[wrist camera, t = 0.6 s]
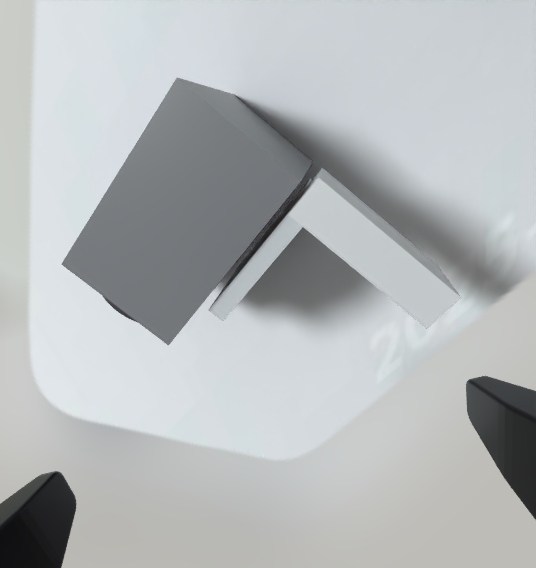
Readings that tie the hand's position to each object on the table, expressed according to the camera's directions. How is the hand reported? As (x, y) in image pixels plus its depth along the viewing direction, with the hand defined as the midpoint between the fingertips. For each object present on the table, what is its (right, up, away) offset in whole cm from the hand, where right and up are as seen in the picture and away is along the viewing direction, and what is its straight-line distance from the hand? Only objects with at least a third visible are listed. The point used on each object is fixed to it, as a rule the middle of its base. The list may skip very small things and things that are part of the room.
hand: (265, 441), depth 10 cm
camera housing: (-2, +8, +13) cm, 16 cm away
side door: (+3, +5, +12) cm, 13 cm away
